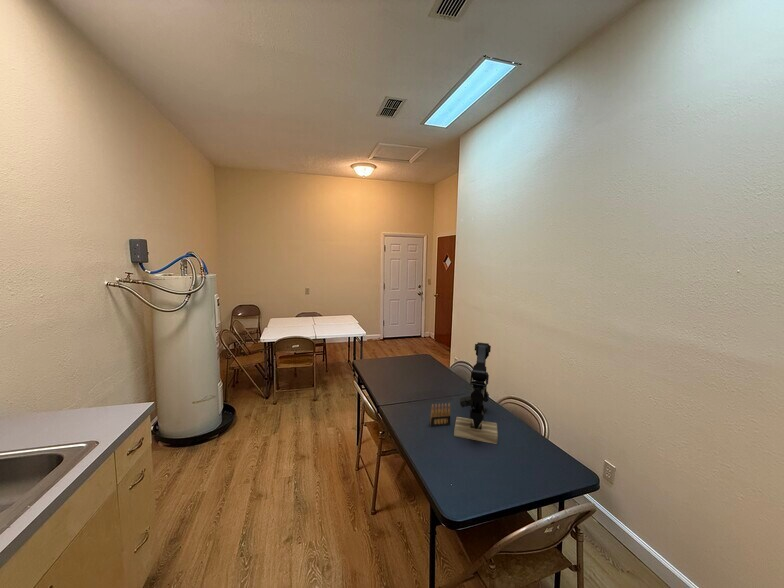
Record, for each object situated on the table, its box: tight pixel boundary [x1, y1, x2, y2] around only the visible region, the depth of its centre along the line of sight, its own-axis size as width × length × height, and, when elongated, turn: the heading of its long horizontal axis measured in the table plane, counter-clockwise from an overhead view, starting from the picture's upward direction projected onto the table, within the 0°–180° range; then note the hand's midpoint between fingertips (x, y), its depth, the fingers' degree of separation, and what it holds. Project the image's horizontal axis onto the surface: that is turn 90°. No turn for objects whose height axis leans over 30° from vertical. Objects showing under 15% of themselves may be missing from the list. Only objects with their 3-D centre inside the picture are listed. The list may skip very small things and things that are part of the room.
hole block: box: [453, 416, 499, 445], centre depth 158 cm, size 12×20×4 cm, turn 73°
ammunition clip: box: [429, 402, 451, 428], centre depth 164 cm, size 11×2×12 cm, turn 100°
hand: (476, 423), depth 158 cm, fingers open, 9 cm apart
